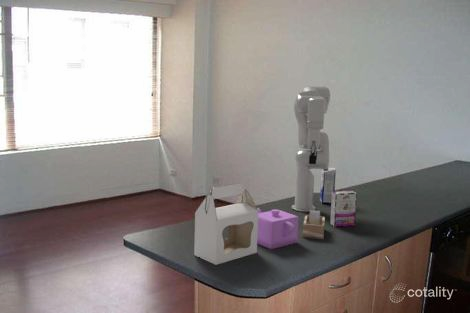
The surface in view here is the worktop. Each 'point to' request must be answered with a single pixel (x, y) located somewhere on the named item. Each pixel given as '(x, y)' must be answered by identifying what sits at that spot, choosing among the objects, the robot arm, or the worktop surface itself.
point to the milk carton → (327, 184)
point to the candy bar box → (343, 208)
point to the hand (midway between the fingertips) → (312, 161)
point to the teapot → (276, 228)
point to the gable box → (216, 219)
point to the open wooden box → (313, 229)
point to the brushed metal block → (314, 217)
